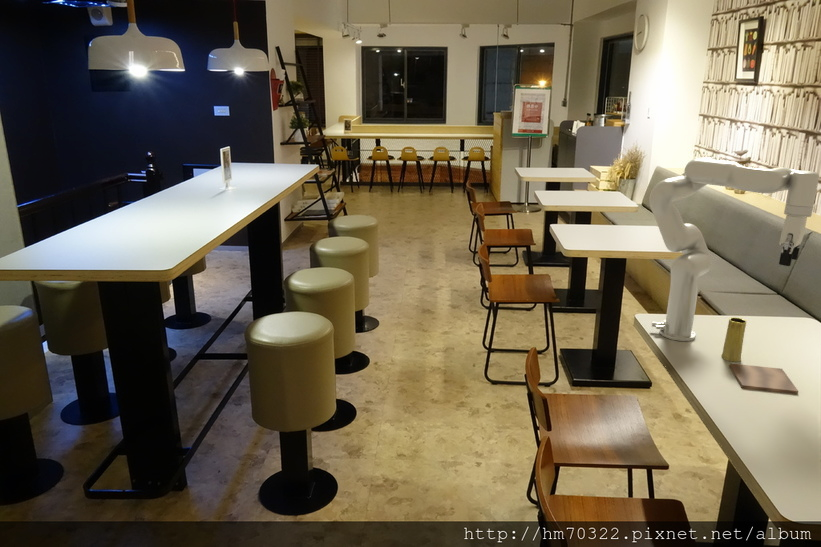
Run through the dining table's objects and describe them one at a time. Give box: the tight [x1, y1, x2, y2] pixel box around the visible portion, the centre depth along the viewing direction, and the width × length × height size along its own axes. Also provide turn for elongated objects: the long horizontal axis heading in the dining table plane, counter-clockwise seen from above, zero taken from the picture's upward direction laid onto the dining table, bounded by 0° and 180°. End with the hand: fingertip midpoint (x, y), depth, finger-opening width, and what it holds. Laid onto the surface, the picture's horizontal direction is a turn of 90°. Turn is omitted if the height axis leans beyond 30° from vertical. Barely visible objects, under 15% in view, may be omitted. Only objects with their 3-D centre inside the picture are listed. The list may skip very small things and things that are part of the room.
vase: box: [721, 316, 747, 363], centre depth 216 cm, size 6×6×14 cm
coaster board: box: [729, 362, 799, 395], centre depth 203 cm, size 16×16×1 cm
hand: (788, 262), depth 204 cm, fingers open, 9 cm apart
